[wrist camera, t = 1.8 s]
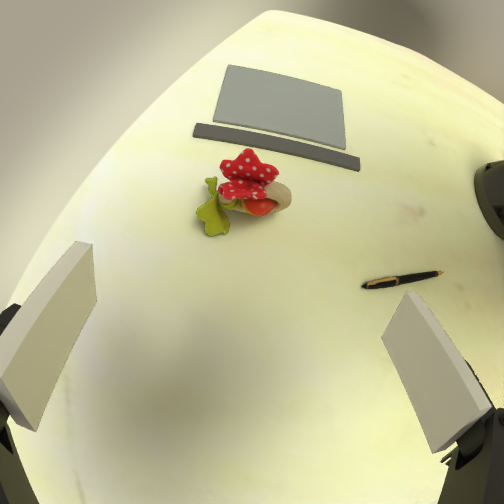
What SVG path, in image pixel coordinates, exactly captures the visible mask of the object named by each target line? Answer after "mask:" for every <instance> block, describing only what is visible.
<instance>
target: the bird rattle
mask: <svg viewBox="0 0 504 504" xmlns="http://www.w3.org/2000/svg"><path fill="white" fill-rule="evenodd" d="M220 169H221V172H222V174H223V175H224V176H225V177H226V178H227V179H229V180H230V182H226V183H223V184H221V185H220V186H219V188H218V190H217V191H216V185H217V177H213V178H206V179H205V182H206V183H207V184H208V185H209V186H208V190H209V192H210V194H211V197H212V199H210V200H209V201H208V202H206V203H205V204H204V205H202V206H200V207H199V208H198V209H197V212H196V214H197V216H198V218H199V219H200V220H202V221H204V222H205V233H206V234H208V235H210V236H214V235H216V234H219V233H221V232H223V233H224V234H227V233H228V231H229V227H230V223H229V221H228V219H227V217H226V215H225V213H224V210H223V208H224V209H226V210H235V211H239V212H244V213H249V214H250V215H253V216H263V215H266V214H268V213H273V212H277V211H281V210H283V209H285V208H287V207H288V206H289V205H290V203H291V192H290V190H289V189H288V188H287V187H286V186H285V185H283V184H281V183H278V182H275V181H273V180H274V179H275V178H276V177H277V176H278V174H279V171H278V170H277V169H276V168H275V167H274V166H272V165H269V164H263V163H262V162H260V160H259V159H258V157H257V155H256V154H255V153H254V151H253V150H252V149H249V148H247V149H245V150H244V151H243V152H242V153H241V154H240V155H239V156H238V157H237V158H236V159H235V160H233V161H231V160H223V161H222V162H221V164H220Z"/></svg>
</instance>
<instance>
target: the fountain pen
mask: <svg viewBox="0 0 504 504" xmlns="http://www.w3.org/2000/svg"><path fill="white" fill-rule="evenodd" d="M442 273H443V272H442V271H438V272H437V271H432V272H424V273H416V274H410V275H403V276H393V277H388V278H383V279H378V280H374V281H371V282H368V283H365V284H364V285H363V286H362V287H363V288H365V289H379V288H387V287H393V286H398V285H400V284H406V283H411V282H415V281H420V280H424V279H428V278H432V277H437V276H438V275H441V274H442Z"/></svg>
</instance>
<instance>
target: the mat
mask: <svg viewBox="0 0 504 504" xmlns="http://www.w3.org/2000/svg"><path fill="white" fill-rule="evenodd" d="M213 122H219V123H225V124H231V125H237V126H242V127H248V128H253V129H258V130H263V131H268V132H273V133H278V134H282V135H287V136H291V137H295V138H300V139H304V140H308V141H312V142H316V143H320V144H324V145H328V146H331V147H335V148H339V149H342V150H345V149H346V143H345V128H344V115H343V103H342V93H341V91H340V90H337V89H333V88H330V87H327V86H323V85H320V84H316V83H313V82H309V81H305V80H301V79H297V78H293V77H289V76H285V75H281V74H276V73H272V72H267V71H262V70H257V69H252V68H246V67H241V66H235V65H228V68H227V71H226V75H225V78H224V82H223V85H222V89H221V93H220V96H219V100H218V104H217V108H216V111H215V115H214V119H213ZM193 137H196V138H203V139H210V140H216V141H222V142H228V143H234V144H240V145H245V146H251V147H256V148H261V149H266V150H271V151H276V152H281V153H285V154H290V155H294V156H299V157H303V158H307V159H312V160H316V161H320V162H324V163H328V164H332V165H336V166H339V167H343V168H347V169H351V170H354V171H358V172H359V171H360V158H358V157H355V156H351V155H348V154H344V153H341V152H337V151H333V150H330V149H326V148H322V147H318V146H314V145H310V144H306V143H302V142H298V141H293V140H289V139H284V138H280V137H275V136H270V135H266V134H261V133H256V132H250V131H245V130H239V129H234V128H228V127H222V126H215V125H209V124H202V123H196V126H195V129H194V133H193Z"/></svg>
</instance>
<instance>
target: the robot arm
mask: <svg viewBox="0 0 504 504" xmlns="http://www.w3.org/2000/svg"><path fill="white" fill-rule="evenodd" d="M475 190H476V194H477V198H478V201H479V204H480V207H481V209H482V212H483V214H484V216H485V218H486V220H487V222H488V223H489V225H490V226H491V228H492V229H493V230H494V232H495V233H496V234H497V235H498V236H499V237H501V238H502V239H504V160H501V161H496V162H491V163H487V164H485V165H484V166H482V167H481V168H480V169H478V170H477V172H476V175H475ZM96 302H97V297H96V288H95V277H94V264H93V248H92V244H88V243H83V242H77V241H75V242H74V243H73V245H72V246H71V247H70V248H69V249H68V250H67V251H66V252H65V253H64V255H63V256H62V257H61V258H60V259H59V260H58V262H57V263H56V264H55V265H54V266H53V267H52V269H51V270H50V271H49V272H48V273H47V275H46V276H45V277H44V278H43V279H42V281H41V282H40V283H39V284H38V286H37V287H36V288H35V289H34V291H33V292H32V293H31V295H30V296H29V297H28V298H27V300H26V301H25V302H24V304H23V305H22V306H21V305H18V304H13V305H11V306H10V307H8V308H7V309H5V310H4V311H3V312H2V313H1V314H0V504H39V502H38V500H37V498H36V496H35V494H34V492H33V490H32V487H31V485H30V483H29V480H28V478H27V476H26V473H25V471H24V468H23V466H22V463H21V461H20V458H19V455H18V452H17V450H16V447H15V444H14V441H13V438H12V435H11V431H10V428H9V426H8V424H7V419H8V417H9V415H11V417H12V418H13V420H14V421H15V422H16V424H18V425H20V426H23V427H25V428H27V429H29V430H32V431H34V432H36V431H37V429H38V426H39V423H40V421H41V418H42V416H43V413H44V411H45V408H46V406H47V403H48V401H49V398H50V396H51V394H52V391H53V389H54V387H55V384H56V382H57V380H58V378H59V376H60V373H61V371H62V369H63V367H64V365H65V363H66V360H67V358H68V356H69V354H70V352H71V350H72V348H73V346H74V344H75V342H76V340H77V338H78V336H79V334H80V332H81V330H82V328H83V326H84V324H85V322H86V320H87V319H88V317H89V315H90V313H91V311H92V309H93V307H94V306H95V304H96ZM381 339H382V341H383V343H384V345H385V347H386V349H387V351H388V353H389V355H390V357H391V359H392V361H393V363H394V366H395V368H396V370H397V372H398V374H399V376H400V378H401V381H402V383H403V385H404V387H405V389H406V392H407V394H408V396H409V398H410V401H411V403H412V405H413V408H414V410H415V412H416V415H417V417H418V419H419V422H420V424H421V427H422V429H423V432H424V434H425V436H426V439H427V441H428V444H429V447H430V449H431V452H432V454H433V453H436V452H440V451H443V450H446V449H447V448H448V447H449V446H451V445H452V444H453V443H454V442H455V441H456V442H457V445H458V446H457V447H456V448H454V449H453V450H452V451H451V452H450V453H448V454H447V455H446V456H445V457H443V458H442V460H441V463H443V462H444V461H446V460H447V459H448V458H449V457H451V459H450V460H449V461H448V462H447V463H446V465H448V466H449V468H448V471H447V475H446V478H445V482H444V485H443V488H442V492H441V495H440V498H439V501H438V504H504V409H503V408H498V409H497V410H496V408H495V407H494V405H493V403H492V402H491V400H490V398H489V396H488V394H487V393H486V391H485V389H484V388H483V386H482V384H481V383H480V382H479V379H478V378H477V376H476V375H475V373H474V371H473V369H472V368H471V366H470V365H469V363H468V362H467V361H466V360H465V359H464V358H463V357H462V355H461V354H460V352H459V351H458V349H457V348H456V346H455V345H454V343H453V342H452V340H451V339H450V337H449V336H448V334H447V333H446V331H445V330H444V328H443V327H442V325H441V324H440V323H439V321H438V320H437V318H436V317H435V316H434V314H433V313H432V311H431V310H430V309H429V307H428V306H427V304H426V303H425V302H424V300H423V299H422V298H421V296H420V295H419V294H418V293H411V292H406V293H405V295H404V297H403V299H402V301H401V303H400V304H399V306H398V308H397V310H396V312H395V314H394V316H393V317H392V319H391V321H390V323H389V325H388V326H387V328H386V330H385V332H384V333H383V335H382V337H381Z"/></svg>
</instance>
